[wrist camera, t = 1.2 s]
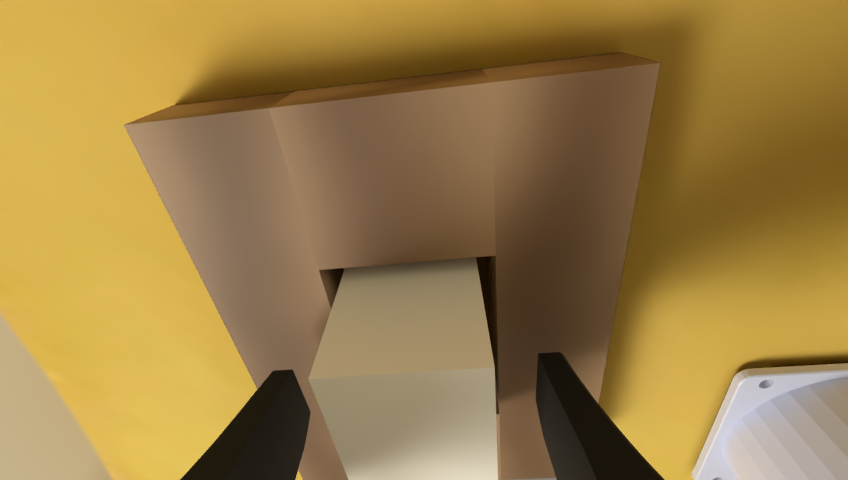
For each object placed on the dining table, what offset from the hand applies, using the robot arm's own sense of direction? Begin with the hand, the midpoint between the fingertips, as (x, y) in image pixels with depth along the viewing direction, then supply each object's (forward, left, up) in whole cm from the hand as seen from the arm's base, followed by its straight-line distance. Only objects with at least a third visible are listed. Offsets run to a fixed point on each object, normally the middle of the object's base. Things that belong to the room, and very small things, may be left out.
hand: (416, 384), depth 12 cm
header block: (0, 0, -3) cm, 3 cm away
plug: (0, 0, -3) cm, 3 cm away
